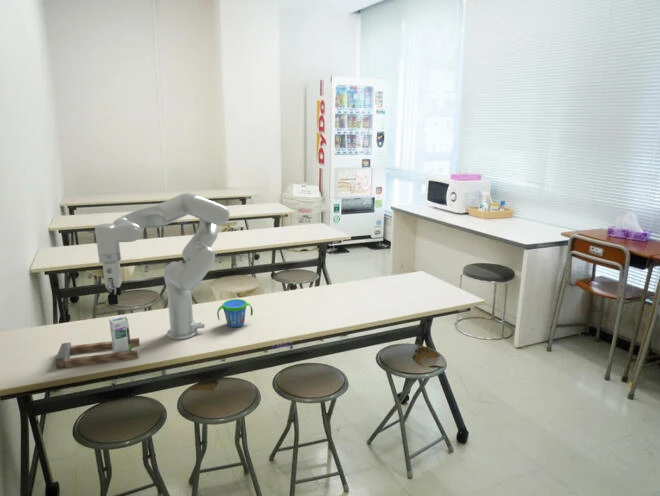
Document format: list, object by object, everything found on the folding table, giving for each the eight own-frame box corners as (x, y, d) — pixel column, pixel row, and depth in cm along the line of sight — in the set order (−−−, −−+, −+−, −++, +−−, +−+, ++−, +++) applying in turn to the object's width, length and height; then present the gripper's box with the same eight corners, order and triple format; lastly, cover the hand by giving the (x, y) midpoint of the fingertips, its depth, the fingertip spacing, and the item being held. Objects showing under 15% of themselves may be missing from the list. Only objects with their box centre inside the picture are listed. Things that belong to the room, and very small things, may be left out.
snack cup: (218, 331, 213) (217, 309, 210) (217, 321, 223) (216, 300, 220) (254, 327, 216) (253, 306, 214) (252, 318, 226) (251, 297, 224)
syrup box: (116, 357, 189) (112, 323, 185) (112, 351, 193) (108, 317, 190) (132, 353, 192) (128, 319, 188) (127, 348, 197) (124, 314, 193)
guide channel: (139, 343, 200) (138, 334, 199) (137, 358, 188) (136, 348, 187) (63, 352, 192) (62, 343, 191) (56, 368, 180) (54, 358, 179)
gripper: (117, 262, 175) (123, 307, 180) (123, 249, 191) (127, 291, 196) (95, 264, 173) (101, 309, 178) (102, 251, 189) (107, 292, 194)
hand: (115, 299), depth 187 cm, fingers open, 9 cm apart
